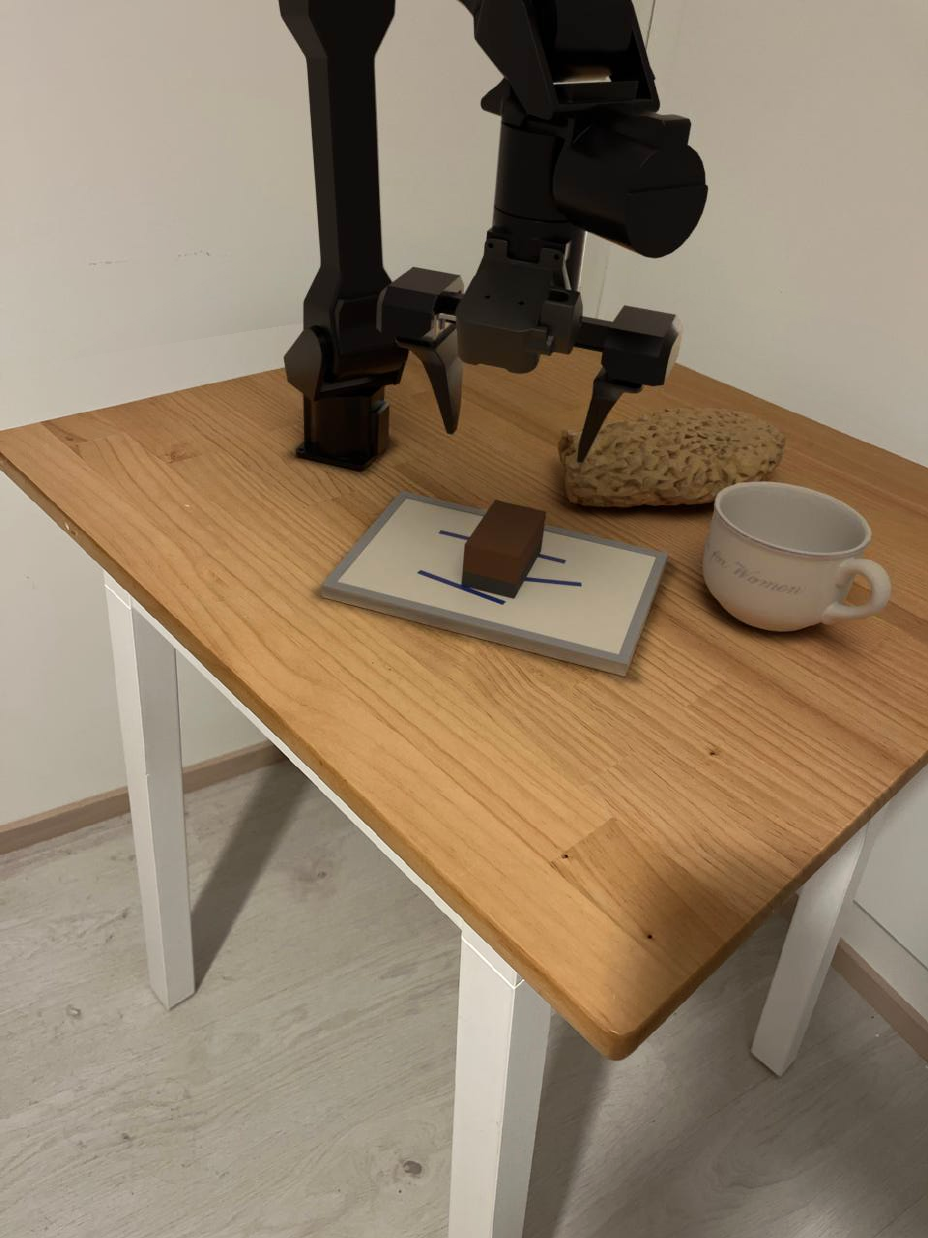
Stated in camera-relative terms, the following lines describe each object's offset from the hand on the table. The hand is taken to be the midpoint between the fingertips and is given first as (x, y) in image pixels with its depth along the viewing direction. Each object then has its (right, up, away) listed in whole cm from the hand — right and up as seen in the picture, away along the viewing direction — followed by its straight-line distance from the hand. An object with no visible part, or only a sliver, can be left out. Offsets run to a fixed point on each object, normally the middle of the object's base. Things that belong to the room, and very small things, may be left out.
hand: (515, 446), depth 73 cm
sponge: (+14, -1, +20) cm, 25 cm away
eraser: (-1, -8, +6) cm, 10 cm away
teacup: (+19, -12, +5) cm, 23 cm away
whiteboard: (-1, -9, +6) cm, 11 cm away
